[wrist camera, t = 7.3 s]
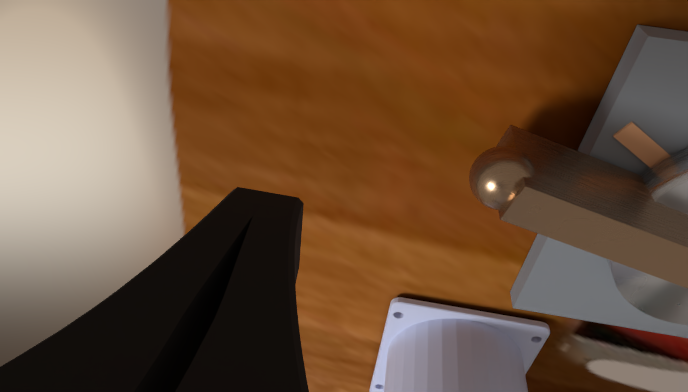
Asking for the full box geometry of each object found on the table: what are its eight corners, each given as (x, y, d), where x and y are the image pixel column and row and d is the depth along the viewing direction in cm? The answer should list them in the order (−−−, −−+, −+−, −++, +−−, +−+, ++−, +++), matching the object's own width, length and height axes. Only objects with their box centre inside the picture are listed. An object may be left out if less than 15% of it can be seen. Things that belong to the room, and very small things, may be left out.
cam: (924, 184, 16) (1024, 261, 13) (725, 319, 21) (768, 395, 18) (533, 21, 15) (556, 71, 12) (420, 207, 20) (418, 272, 17)
